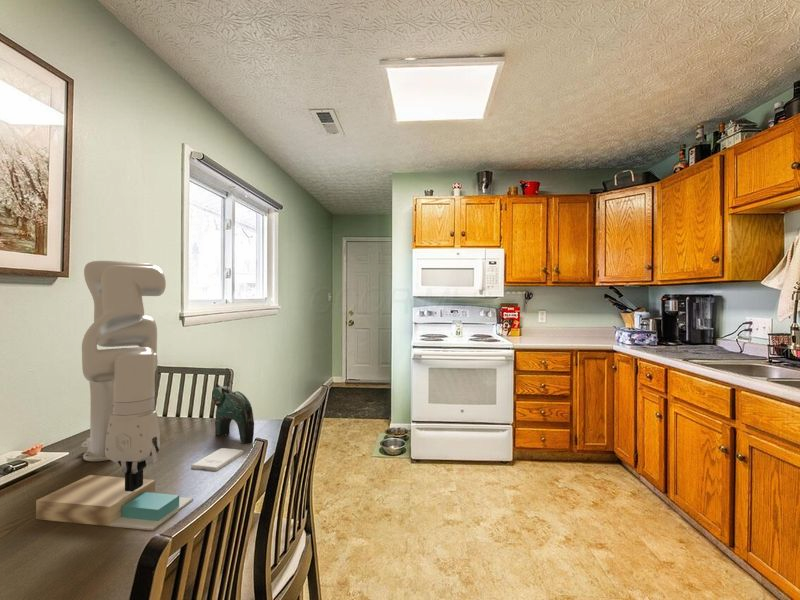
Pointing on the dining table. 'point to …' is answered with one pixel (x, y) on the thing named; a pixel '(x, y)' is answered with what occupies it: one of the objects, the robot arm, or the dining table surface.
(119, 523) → the mat
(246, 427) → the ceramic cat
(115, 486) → the tan wooden flat block
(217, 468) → the external hard drive
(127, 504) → the teal rectangular slab
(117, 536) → the dining table surface
